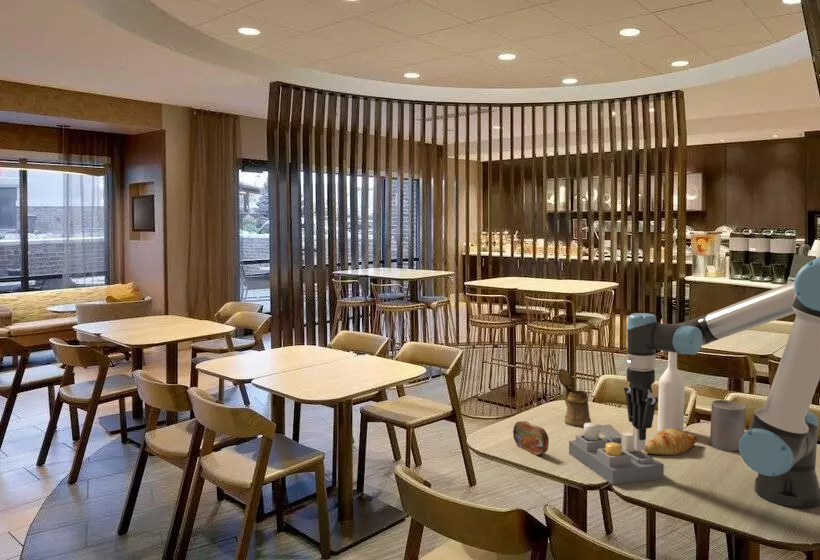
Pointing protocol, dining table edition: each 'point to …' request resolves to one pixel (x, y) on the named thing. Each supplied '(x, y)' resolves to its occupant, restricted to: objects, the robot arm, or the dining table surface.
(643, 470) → the panel
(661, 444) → the croissant
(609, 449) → the amber button
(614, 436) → the plate
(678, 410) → the bottle
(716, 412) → the pillar candle
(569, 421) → the wooden mug
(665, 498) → the dining table surface
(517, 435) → the tin
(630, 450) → the slider knob
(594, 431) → the white button
